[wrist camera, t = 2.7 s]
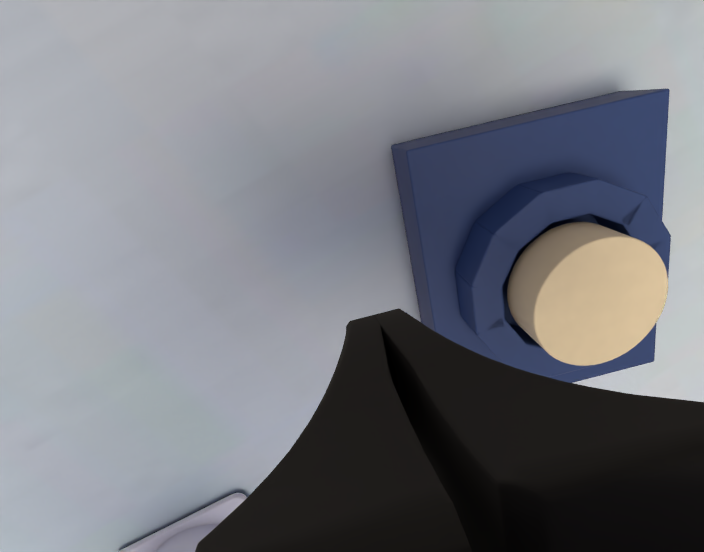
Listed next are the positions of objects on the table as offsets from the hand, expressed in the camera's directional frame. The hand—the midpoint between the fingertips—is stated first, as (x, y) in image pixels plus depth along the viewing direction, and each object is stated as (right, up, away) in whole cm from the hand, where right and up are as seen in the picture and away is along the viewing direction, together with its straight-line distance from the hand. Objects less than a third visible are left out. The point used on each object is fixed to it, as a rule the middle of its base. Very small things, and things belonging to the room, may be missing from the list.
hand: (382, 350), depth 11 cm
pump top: (+7, +2, +6) cm, 10 cm away
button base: (+7, +3, +10) cm, 12 cm away
